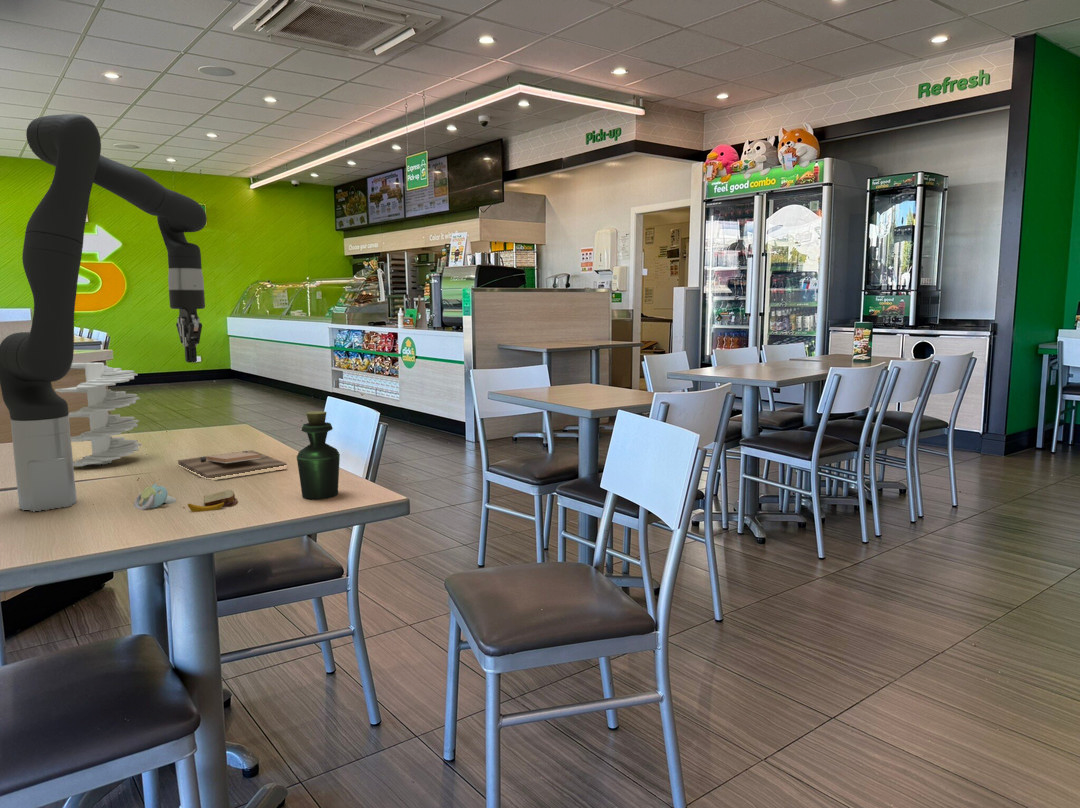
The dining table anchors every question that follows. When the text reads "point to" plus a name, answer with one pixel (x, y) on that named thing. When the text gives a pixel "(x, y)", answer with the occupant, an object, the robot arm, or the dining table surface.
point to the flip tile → (234, 457)
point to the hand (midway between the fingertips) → (191, 362)
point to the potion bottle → (318, 460)
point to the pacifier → (153, 497)
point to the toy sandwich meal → (215, 501)
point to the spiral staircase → (104, 413)
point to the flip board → (228, 465)
